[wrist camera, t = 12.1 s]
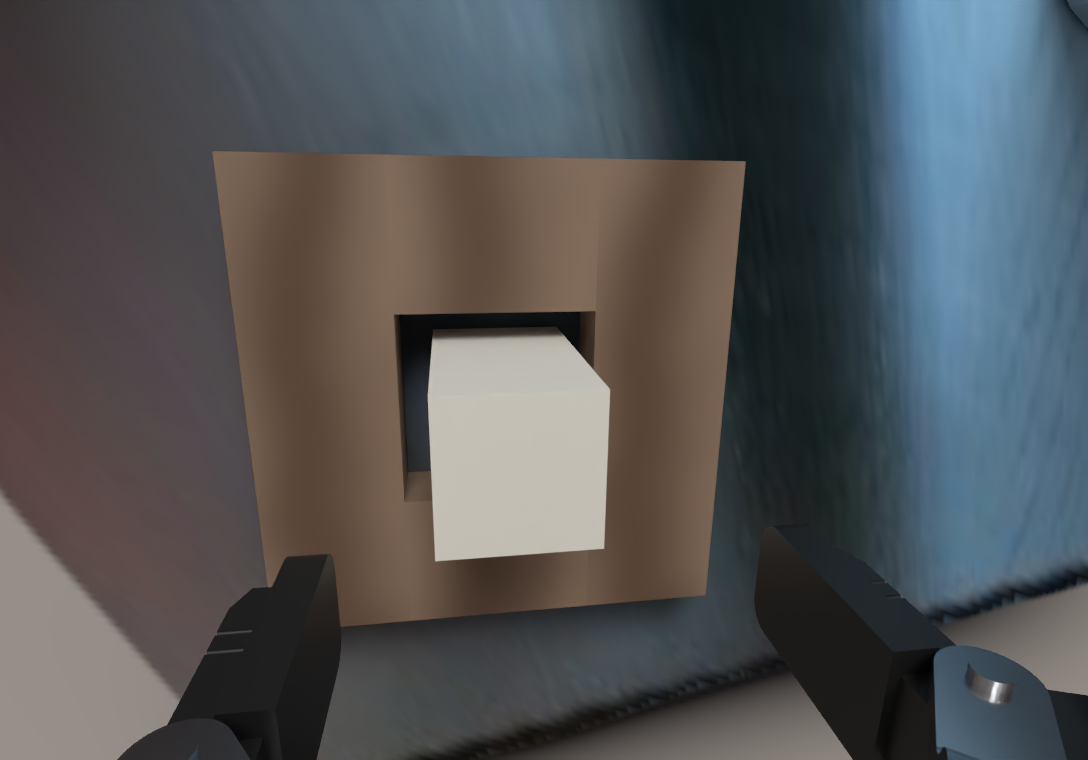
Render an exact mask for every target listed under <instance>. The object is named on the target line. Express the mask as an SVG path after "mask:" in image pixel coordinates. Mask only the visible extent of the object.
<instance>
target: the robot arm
mask: <svg viewBox="0 0 1088 760" xmlns="http://www.w3.org/2000/svg"><path fill="white" fill-rule="evenodd" d="M1067 2H1068V4H1069V6H1070V8H1071V9H1072V10H1073V12H1074V13H1075V14H1076V15H1077V17H1078V18H1079V19H1080V20H1081V22H1082V23H1083V24H1084V25H1085V27H1087V28H1088V0H1067ZM755 610H756V615H757V619H758V622H759V624H760V626H761V629H762V630H763V632H764V633H765V635H766V636H767V638H768V639H769V641H770V642H771V643H772V645H773V646H774V648H775V649H776V651H777V652H778V653H779V655H780V656H781V658H782V659H783V661H784V662H785V663H786V665H787V666H788V668H789V669H790V670H791V672H792V673H793V675H794V676H795V678H796V679H797V680H798V682H799V683H800V685H801V686H802V688H803V689H804V690H805V692H806V693H807V695H808V696H809V698H810V699H811V700H812V702H813V703H814V705H815V706H816V708H817V709H818V710H819V712H820V713H821V715H822V716H823V717H824V719H825V720H826V722H827V723H828V725H829V726H830V727H831V729H832V730H833V732H834V733H835V735H836V736H837V737H838V739H839V740H840V742H841V743H842V745H843V746H844V747H845V749H846V750H847V752H848V753H849V755H850V756H851V757H852V759H853V760H1088V696H1087V695H1080V694H1073V693H1066V692H1059V691H1052V690H1047V689H1046V688H1045V686H1044V685H1043V684H1042V683H1041V681H1040V680H1039V679H1038V678H1037V677H1036V676H1034V675H1033V674H1032V673H1031V672H1030V671H1028V670H1027V669H1025V668H1024V667H1022V666H1021V665H1019V664H1018V663H1016V662H1014V661H1012V660H1010V659H1008V658H1006V657H1004V656H1001V655H999V654H997V653H994V652H991V651H988V650H985V649H981V648H977V647H971V646H957V645H955V644H954V643H953V642H952V641H951V640H950V639H949V638H948V637H947V636H945V635H944V634H943V633H942V632H941V631H940V630H939V629H938V628H937V627H936V626H934V625H933V624H932V623H931V622H930V621H929V620H928V619H927V618H926V617H925V616H923V615H922V614H921V613H920V612H919V611H918V610H917V609H916V608H915V607H913V606H912V605H911V604H910V603H909V602H908V601H907V600H906V599H905V598H901V597H900V594H899V593H898V592H897V591H896V590H895V589H894V588H892V587H891V586H890V585H889V584H888V583H886V584H885V583H884V579H883V578H881V577H880V576H879V575H878V574H877V573H876V572H875V571H874V570H873V569H872V568H870V567H869V566H868V565H867V564H866V563H865V562H863V561H861V560H859V559H858V558H856V557H854V556H852V555H850V554H848V553H846V552H845V551H843V550H841V549H839V548H834V547H833V546H831V545H830V544H829V543H828V542H827V541H826V540H825V539H824V538H823V537H822V536H821V535H820V534H819V533H818V532H817V531H816V530H814V529H813V528H812V527H811V526H810V525H808V524H793V525H778V526H768V527H766V528H765V530H764V531H763V534H762V538H761V546H760V555H759V563H758V571H757V580H756V588H755ZM340 652H341V626H340V616H339V606H338V596H337V586H336V575H335V566H334V560H333V557H332V555H331V554H318V555H303V556H288V557H286V558H285V560H284V562H283V564H282V566H281V568H280V570H279V573H278V575H277V577H276V579H275V581H274V584H273V586H272V587H265V588H252V589H251V590H250V591H249V592H248V593H247V594H246V595H244V596H243V597H242V598H241V599H240V600H239V601H238V602H236V603H235V604H234V605H233V606H232V607H231V608H229V610H228V612H227V614H226V616H225V618H224V620H223V621H222V623H221V625H220V627H219V629H218V631H217V636H214V638H213V640H212V642H211V644H210V646H209V648H208V650H207V655H204V657H203V659H202V661H201V663H200V665H199V666H198V668H197V670H196V672H195V674H194V676H193V678H192V680H191V681H190V683H189V685H188V687H187V689H186V691H185V693H184V695H183V696H182V698H181V700H180V702H179V704H178V706H177V708H176V710H175V711H174V713H173V715H172V717H171V719H170V721H169V723H168V725H167V726H164V727H162V728H160V729H157V730H155V731H153V732H152V733H150V734H148V735H146V736H145V737H143V738H142V739H140V740H139V741H138V742H136V743H134V744H133V745H132V746H131V747H130V748H129V749H127V750H126V751H125V752H124V753H123V754H122V755H121V756H120V757H119V759H117V760H316V759H317V755H318V751H319V747H320V743H321V738H322V734H323V730H324V726H325V722H326V718H327V713H328V709H329V705H330V701H331V697H332V692H333V688H334V684H335V680H336V676H337V672H338V667H339V661H340Z"/></svg>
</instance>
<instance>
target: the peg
mask: <svg viewBox="0 0 1088 760" xmlns="http://www.w3.org/2000/svg"><path fill="white" fill-rule="evenodd" d="M609 407H610V389H609V387H608V386H607V385H606V384H605V383H604V382H603V380H602V379H601V378H600V377H599V376H598V375H597V373H596V372H595V371H594V370H593V369H592V368H591V366H590V365H589V364H588V363H587V362H586V361H585V359H584V358H583V357H582V356H581V355H580V354H579V352H578V351H577V350H576V349H575V348H574V347H573V345H572V344H571V343H570V342H569V341H568V340H567V338H566V337H565V336H564V335H563V334H562V333H561V331H560V330H559V329H558V328H557V327H518V328H473V329H433V336H432V348H431V361H430V374H429V386H428V413H429V435H430V457H431V479H432V501H433V523H434V545H435V561H447V560H460V559H474V558H487V557H500V556H514V555H527V554H540V553H554V552H567V551H580V550H593V549H604V538H605V512H606V486H607V459H608V433H609Z"/></svg>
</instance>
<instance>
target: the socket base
mask: <svg viewBox="0 0 1088 760" xmlns="http://www.w3.org/2000/svg"><path fill="white" fill-rule="evenodd" d="M213 159H214V167H215V175H216V183H217V191H218V199H219V207H220V214H221V222H222V230H223V238H224V246H225V254H226V262H227V270H228V277H229V285H230V293H231V301H232V309H233V317H234V325H235V332H236V340H237V348H238V356H239V364H240V372H241V380H242V388H243V395H244V403H245V411H246V419H247V427H248V435H249V443H250V450H251V458H252V466H253V474H254V482H255V490H256V498H257V506H258V513H259V521H260V529H261V537H262V545H263V553H264V561H265V569H266V576H267V584H268V587H272V586H273V584H274V581H275V579H276V577H277V575H278V573H279V570H280V568H281V566H282V564H283V562H284V560H285V558H286V557H288V556H303V555H318V554H331V555H332V557H333V560H334V566H335V575H336V586H337V596H338V606H339V616H340V626H341V627H346V626H357V625H369V624H380V623H392V622H403V621H415V620H426V619H438V618H449V617H461V616H472V615H484V614H495V613H507V612H518V611H530V610H542V609H553V608H565V607H576V606H588V605H599V604H611V603H622V602H634V601H645V600H657V599H668V598H680V597H691V596H703V595H706V584H707V574H708V563H709V552H710V541H711V530H712V519H713V509H714V498H715V487H716V476H717V465H718V455H719V444H720V433H721V422H722V411H723V400H724V390H725V379H726V368H727V357H728V346H729V336H730V325H731V314H732V303H733V292H734V281H735V271H736V260H737V249H738V238H739V227H740V217H741V206H742V195H743V184H744V173H745V162H746V161H694V160H642V159H590V158H538V157H486V156H434V155H382V154H330V153H278V152H226V151H213ZM574 311H580V326H579V354H580V355H581V356H582V357H583V358H584V359H585V361H586V362H587V363H588V364H589V365H590V366H591V368H592V369H593V370H594V371H595V372H596V373H597V375H598V376H599V377H600V378H601V379H602V380H603V382H604V383H605V384H606V385H607V386H608V387H609V389H610V407H609V433H608V459H607V486H606V512H605V538H604V549H593V550H580V551H567V552H554V553H540V554H527V555H514V556H500V557H487V558H474V559H460V560H447V561H435V545H434V523H433V501H432V479H431V471H419V472H408V460H407V441H406V422H405V404H404V385H403V367H402V348H401V329H400V314H457V313H516V312H574Z"/></svg>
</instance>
